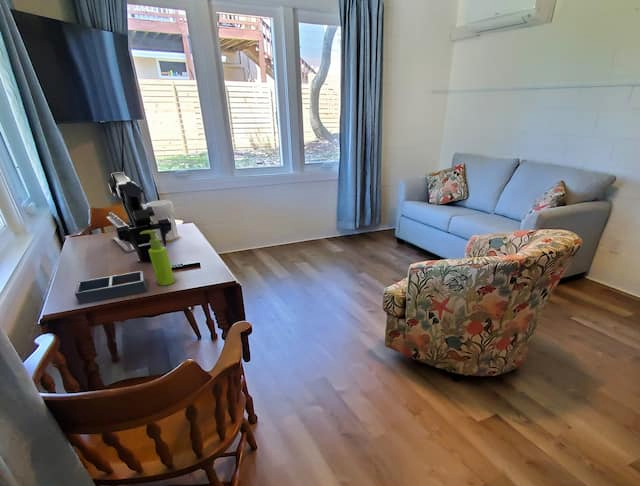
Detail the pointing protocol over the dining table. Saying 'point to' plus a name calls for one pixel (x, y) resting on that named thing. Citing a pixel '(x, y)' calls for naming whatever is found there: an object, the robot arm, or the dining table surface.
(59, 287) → the dining table surface
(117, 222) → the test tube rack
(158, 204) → the white upright cylinder
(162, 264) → the soap dispenser
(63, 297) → the dining table surface
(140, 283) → the divided storage box
